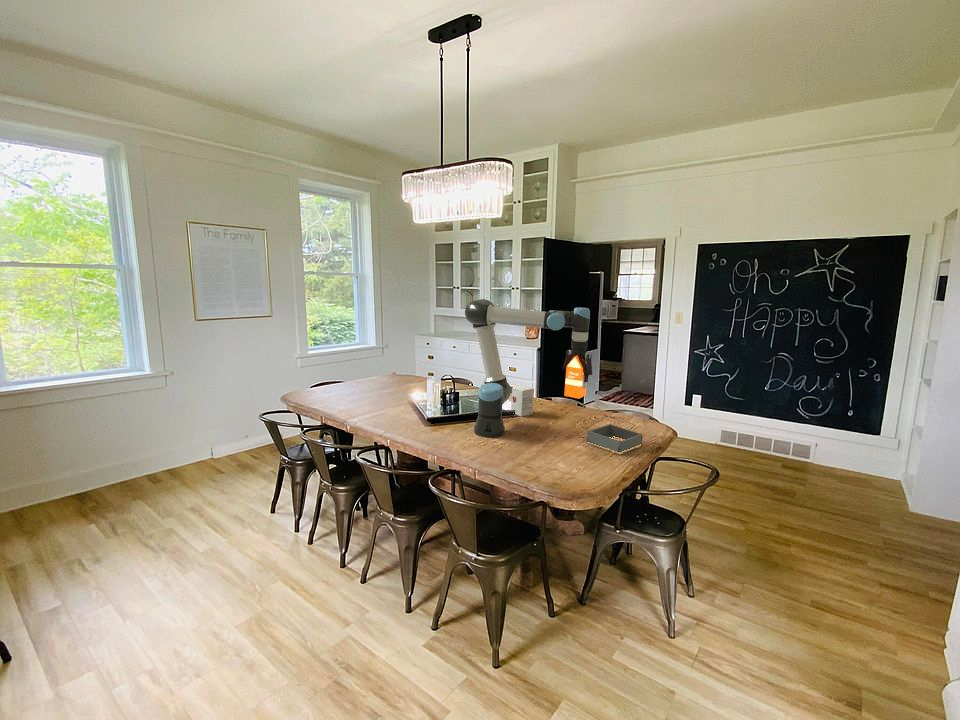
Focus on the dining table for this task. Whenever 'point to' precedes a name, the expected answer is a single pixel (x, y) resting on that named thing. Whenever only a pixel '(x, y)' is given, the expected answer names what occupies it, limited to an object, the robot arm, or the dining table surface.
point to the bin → (603, 433)
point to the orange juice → (574, 379)
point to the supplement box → (522, 400)
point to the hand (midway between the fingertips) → (575, 386)
